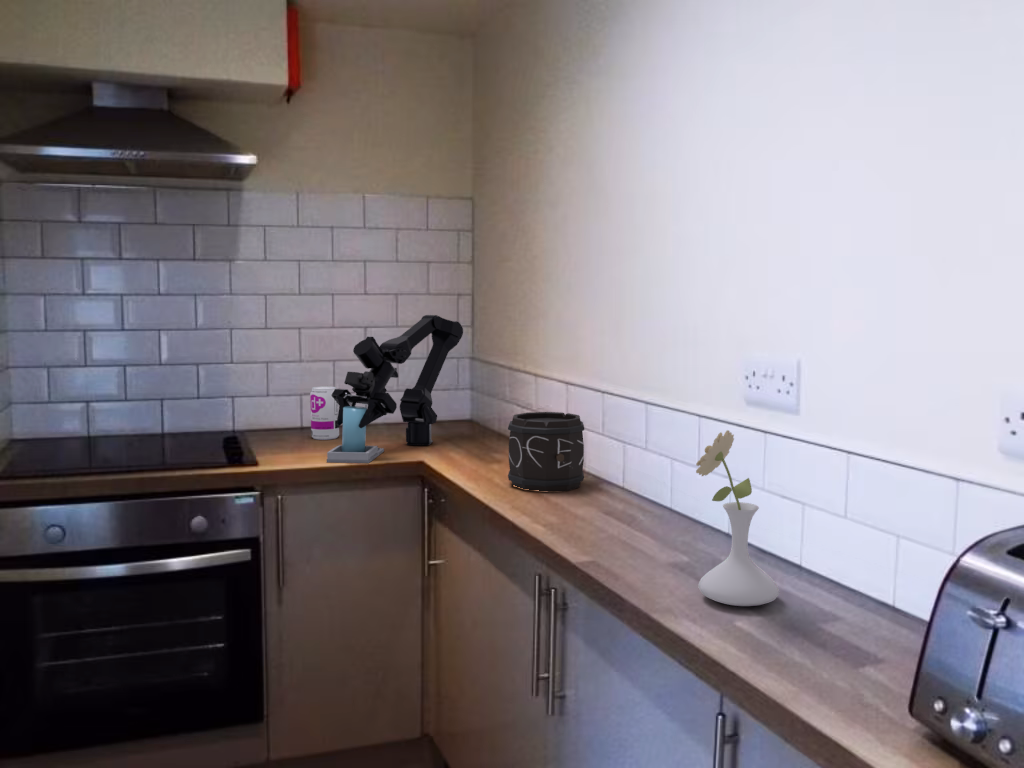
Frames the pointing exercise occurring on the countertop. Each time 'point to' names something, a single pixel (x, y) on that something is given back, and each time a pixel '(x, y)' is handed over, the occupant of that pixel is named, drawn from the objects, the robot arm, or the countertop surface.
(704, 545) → the countertop surface
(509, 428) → the wooden barrel
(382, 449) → the kitchen sink with drainboard
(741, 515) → the flower in vase
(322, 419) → the supplement can
